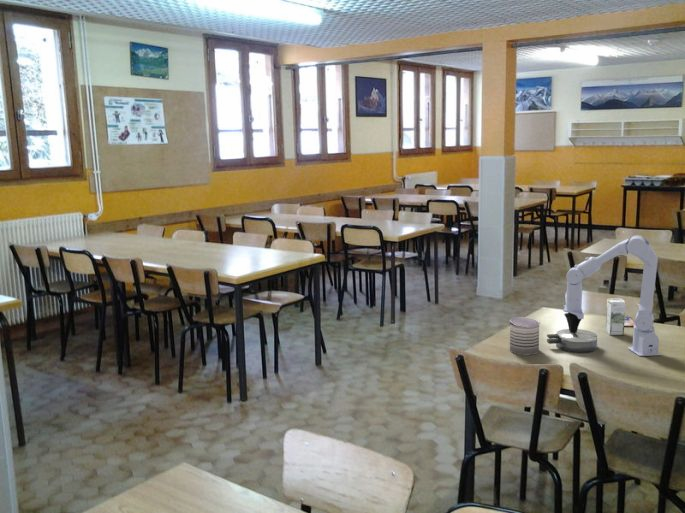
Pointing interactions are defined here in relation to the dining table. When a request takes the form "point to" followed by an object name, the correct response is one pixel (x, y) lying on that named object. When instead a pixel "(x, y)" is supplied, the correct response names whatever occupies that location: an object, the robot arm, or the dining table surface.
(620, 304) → the syrup box
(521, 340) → the can
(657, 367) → the dining table surface
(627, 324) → the smartphone
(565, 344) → the cooker pot
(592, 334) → the cooker lid
